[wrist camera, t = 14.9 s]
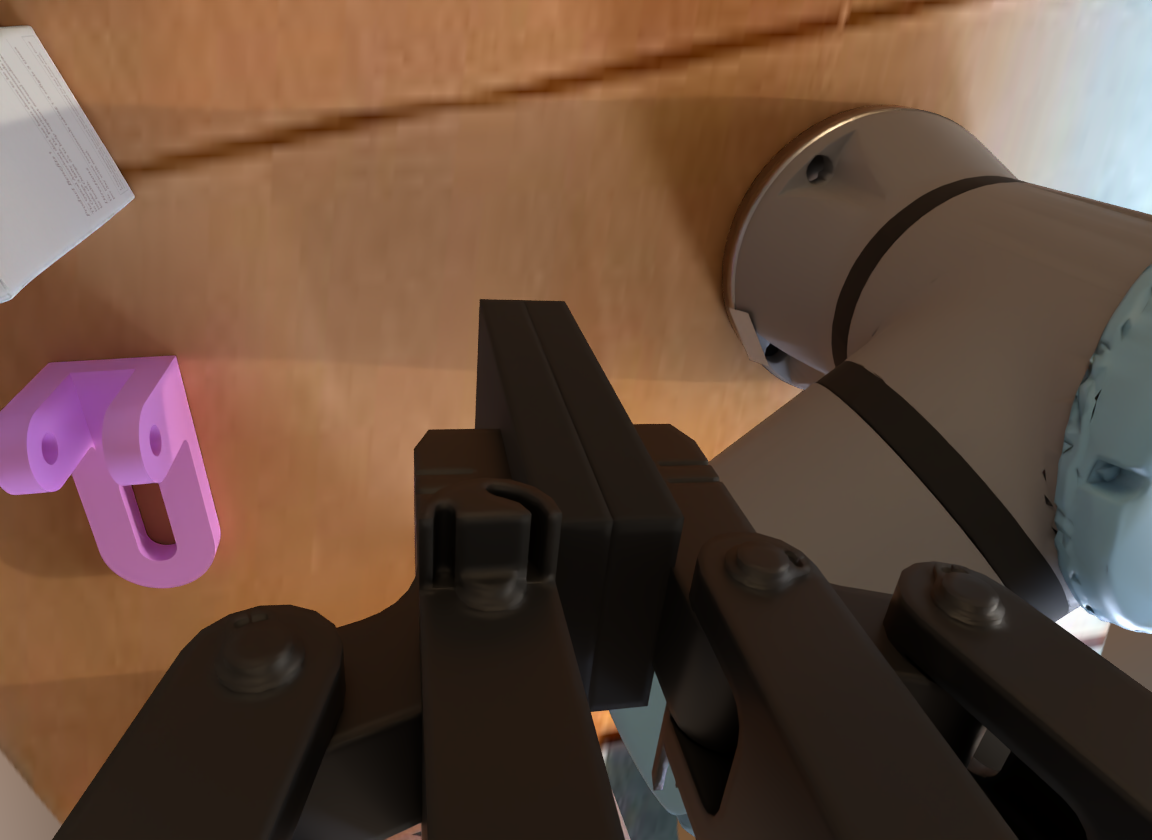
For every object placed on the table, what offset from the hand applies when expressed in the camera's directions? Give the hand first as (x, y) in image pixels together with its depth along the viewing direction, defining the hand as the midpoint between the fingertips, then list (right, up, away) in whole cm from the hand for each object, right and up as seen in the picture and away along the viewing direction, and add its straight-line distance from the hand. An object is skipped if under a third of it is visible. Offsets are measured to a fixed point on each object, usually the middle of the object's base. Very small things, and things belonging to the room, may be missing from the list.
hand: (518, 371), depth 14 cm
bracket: (-21, -4, +26) cm, 34 cm away
